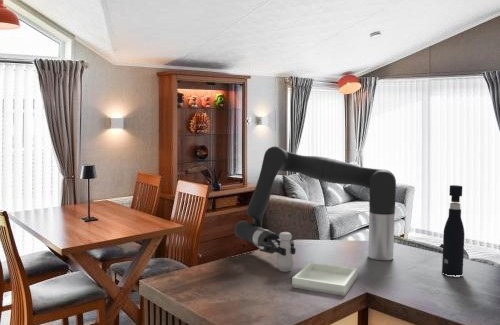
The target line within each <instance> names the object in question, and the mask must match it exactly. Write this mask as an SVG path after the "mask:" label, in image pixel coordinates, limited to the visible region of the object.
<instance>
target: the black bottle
mask: <svg viewBox="0 0 500 325" xmlns="http://www.w3.org/2000/svg"><path fill="white" fill-rule="evenodd" d="M448 192H449V195H448V196H451V200H450V201H451V202H450V204H449V209H448V217H447V220H446V222H445V224H444V228H443V235H442V236H443V240H442V259H441V260H442V261H441V262H442V264H441V265H442V267H441V274H442V273H444V274H447V275H455V276H456V275H462V274H463V275H464V255H465V251H464V250H465V228H464V223H463V220H462V209H461V208H462V206H461V203H460V202H461V201H460V198H461V197H462V196H463V186H462V185H458V184H457V185H455V184H451V185H449V191H448Z"/></svg>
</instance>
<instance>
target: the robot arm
mask: <svg viewBox="0 0 500 325" xmlns="http://www.w3.org/2000/svg"><path fill="white" fill-rule="evenodd" d="M280 171H282V172H289V173H297V174H299V175H300V174H301V175H303V176H305V177H309V178H311V179H314V180H318V181H321V182H325V183H326V182H327V183H331V184H339V185H353V186H354V185H355V186H359V187H364V188H367V189H369V196H368V197H369V198H368V199H369V200H368V201H369V202H368V207H369V209H368V210H369V211H368V212H369V214H368V215H369V216H368V222H369V223H368V246H367V257H368V258H369V259H371V260H376V261H391V260H393V259H394V249H395V248H394V247H395V222H396V221H395V217H396V216H395V215H396V213H395V212H396V194H397V193H396V189H397V181H396V180H397V179H396V176H395V175H394V173H392V172H391V171H389V170H388V169H383V168H382V169H381V168H380V169H379V168H373V167H371V168H370V167H363V166H359V165H356V164H353V163H350V162H346V161H342V160H338V159H336V158H335V159H334V158H330V157H324V156H318V155H317V156H316V155H315V156H314V155H301V154H298V153H294V152H291V151H288V150H285V149H283V148H282V147H280V146H271V147H269V148H268V149H266V150H265V152H264V155H263V160H262V162H261V169H260V172H259V176H258V179H257V182H256V185H255V188H254V190H253V194H252V196H251V198H250V200H249V202H248V203H249V204H248V206H247V208H246V212H245V213H246V215H247V216H248V217H249V218H251V219H252V223H251V222H248V221H247V220H246V221H245V220H240V221H238V222H237V223H236V224H235V226H234V234H235V236H236V237H237V238H238V239H241V240H242V241H247V242H248V243H251V244H252V245H254V246H255V247H257V248H258V249H259V251H260V252H264V253H268V254H277V255H278V253H279V254H281V255H283V256H285V255H286V249H284V248H281V247H280V242H281V240H280V239H279V234H277V233H275V232H273V231H271V230H270V229H265V228H263V227H262V224H263V218H264V214H265V212H266V210H267V208H268V204H269V201H270V198H271V193H272V189H273V184H274V182H275V179H276V176H277V174H278V173H279V172H280ZM290 246H291V253H292V255H295V254H296V250H297V249H296V247H295V242H294V240H292V239H291V240H290Z"/></svg>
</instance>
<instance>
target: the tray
mask: <svg viewBox="0 0 500 325" xmlns="http://www.w3.org/2000/svg"><path fill="white" fill-rule="evenodd" d="M291 279H292V280H291V282H292V283H291V284H292V285H291V286H292V288H293V289H294V288H295V289H301V290H305V291H306V290H307V291H312V292H317V293H318V292H319V293H323V294H324V293H325V294H329V295H330V294H331V295H336V296H342V297H344V296H346V294H347V293H348V292H349V290H350V289H351V287H352V286H353V284H354V283H355V282H356V280H357V279H358V268H355V267H353V268H352V267H348V266H347V267H346V266H341V265H340V266H339V265H334V264H333V265H332V264H326V263H320V262H319V263H318V262H311V261H310V262H309V263H308V264H306V265H305V266H304V267H303V268H302V269H300V270H299V271H298V272H297V273H296V274H295V275H293V276H292V278H291Z"/></svg>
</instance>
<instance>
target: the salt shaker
mask: <svg viewBox="0 0 500 325" xmlns="http://www.w3.org/2000/svg"><path fill="white" fill-rule="evenodd" d="M278 236H279V239H280V240H281V242H280V247H281V248H284V249H286V255H285V256H283V255H281V254H279V253H278V254H277V258H276V259H277V260H276V266H277V269H278V271H280V272H285V273H288V272H291V270H292V269H293V267H294V258H293V254H292V253H291V246H290V240H292V238H293V235H292V234H291V232H288V231H283V232H280V233H279V234H278Z"/></svg>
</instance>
